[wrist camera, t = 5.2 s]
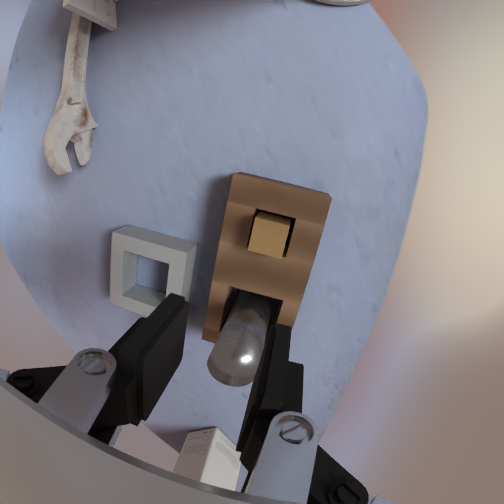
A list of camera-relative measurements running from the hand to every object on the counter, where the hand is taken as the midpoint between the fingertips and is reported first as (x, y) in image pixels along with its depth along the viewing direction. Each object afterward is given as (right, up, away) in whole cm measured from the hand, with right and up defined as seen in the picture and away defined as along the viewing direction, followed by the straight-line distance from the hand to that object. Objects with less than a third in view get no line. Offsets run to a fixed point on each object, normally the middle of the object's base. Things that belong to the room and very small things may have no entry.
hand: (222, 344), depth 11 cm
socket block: (+2, +2, +21) cm, 22 cm away
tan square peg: (+3, +6, +20) cm, 21 cm away
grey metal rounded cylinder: (+1, -2, +23) cm, 23 cm away
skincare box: (-5, -28, +32) cm, 43 cm away
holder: (-10, +1, +24) cm, 26 cm away
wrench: (-19, +28, +18) cm, 38 cm away
